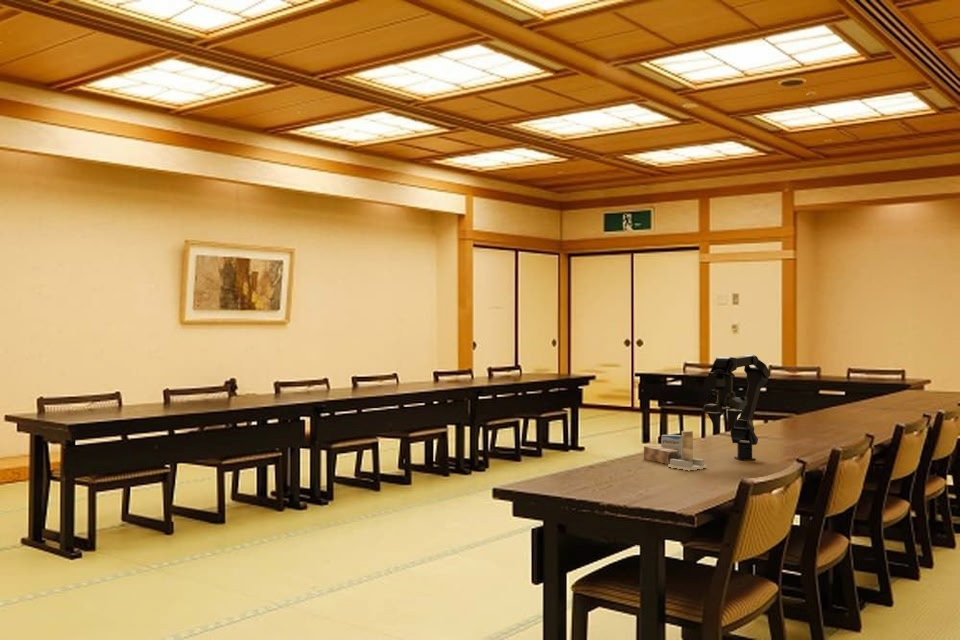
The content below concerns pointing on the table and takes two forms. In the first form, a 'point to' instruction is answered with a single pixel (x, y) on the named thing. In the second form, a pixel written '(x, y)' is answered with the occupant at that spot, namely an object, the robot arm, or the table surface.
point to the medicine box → (672, 442)
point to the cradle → (687, 464)
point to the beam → (660, 454)
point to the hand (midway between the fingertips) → (724, 429)
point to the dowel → (687, 446)
